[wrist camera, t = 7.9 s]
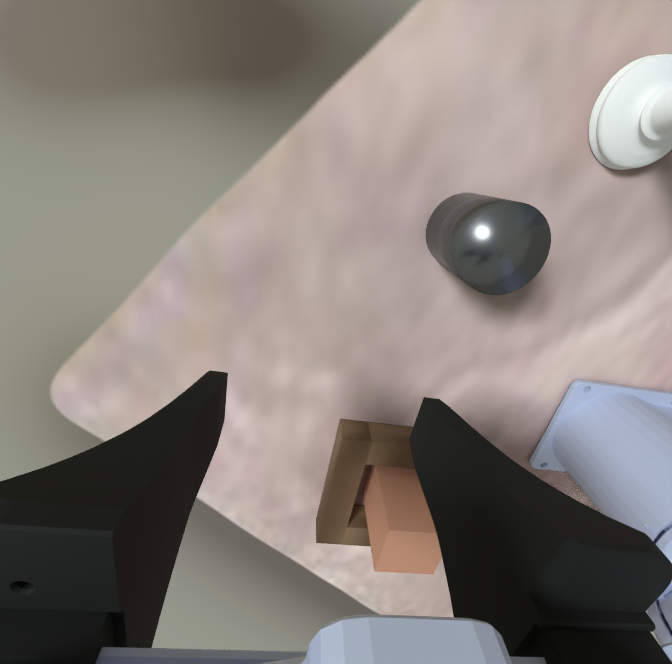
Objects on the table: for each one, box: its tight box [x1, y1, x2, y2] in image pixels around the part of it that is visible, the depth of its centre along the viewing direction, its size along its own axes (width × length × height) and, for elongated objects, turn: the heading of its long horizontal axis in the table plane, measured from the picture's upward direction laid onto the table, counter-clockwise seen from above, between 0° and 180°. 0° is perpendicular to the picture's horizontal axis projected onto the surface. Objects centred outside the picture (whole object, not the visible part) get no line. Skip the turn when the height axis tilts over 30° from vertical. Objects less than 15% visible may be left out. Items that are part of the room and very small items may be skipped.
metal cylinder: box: [426, 193, 551, 295], centre depth 18 cm, size 4×4×5 cm
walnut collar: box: [316, 419, 415, 546], centre depth 27 cm, size 10×10×2 cm
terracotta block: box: [363, 465, 442, 574], centre depth 25 cm, size 4×4×6 cm
